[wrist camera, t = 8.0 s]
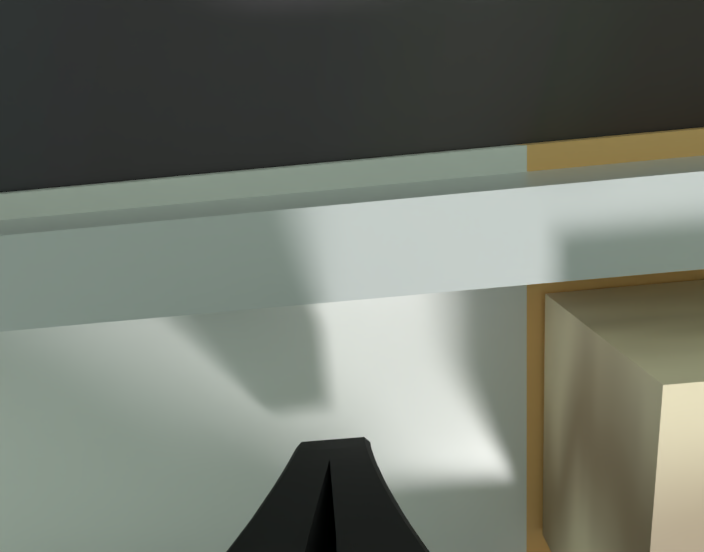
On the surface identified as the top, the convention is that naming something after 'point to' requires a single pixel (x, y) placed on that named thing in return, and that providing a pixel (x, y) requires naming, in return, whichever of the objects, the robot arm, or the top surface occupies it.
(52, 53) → the top surface
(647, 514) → the block
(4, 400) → the chute
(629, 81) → the top surface
